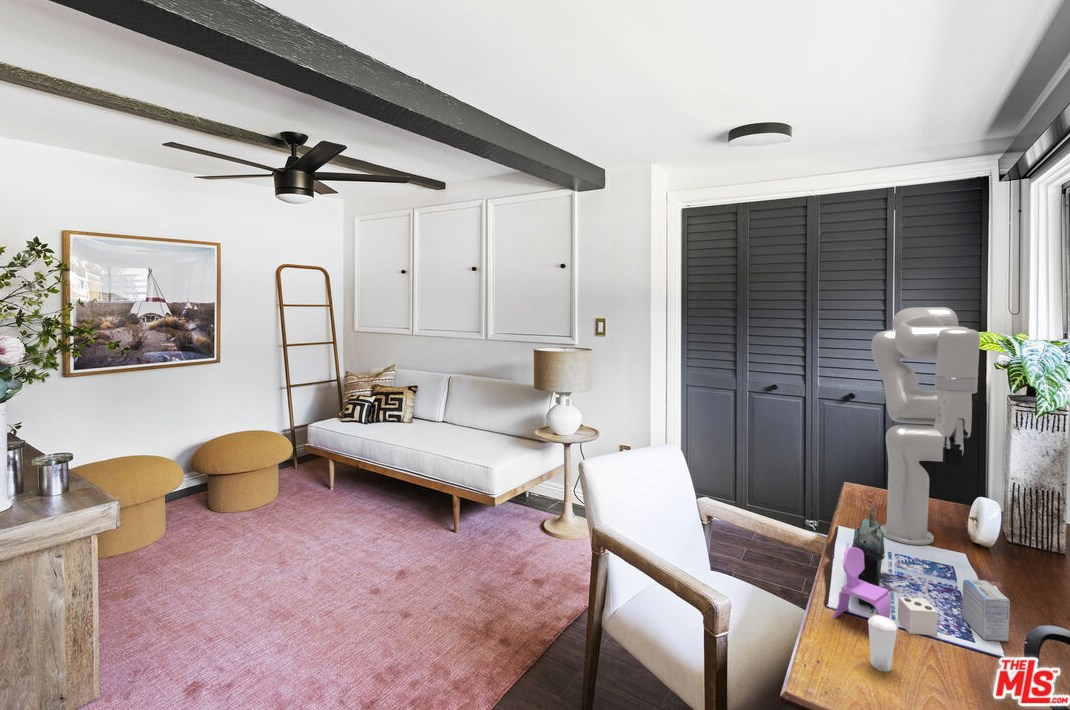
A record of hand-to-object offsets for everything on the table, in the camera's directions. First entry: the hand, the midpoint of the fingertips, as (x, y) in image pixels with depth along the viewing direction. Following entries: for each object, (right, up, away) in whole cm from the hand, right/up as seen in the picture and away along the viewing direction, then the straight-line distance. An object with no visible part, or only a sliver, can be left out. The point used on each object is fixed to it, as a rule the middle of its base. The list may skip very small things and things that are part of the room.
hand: (951, 465), depth 125 cm
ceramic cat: (-17, -30, +4) cm, 34 cm away
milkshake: (-30, -32, -24) cm, 50 cm away
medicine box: (-3, -31, -13) cm, 34 cm away
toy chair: (-26, -31, -9) cm, 41 cm away
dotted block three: (-16, -31, -12) cm, 37 cm away
